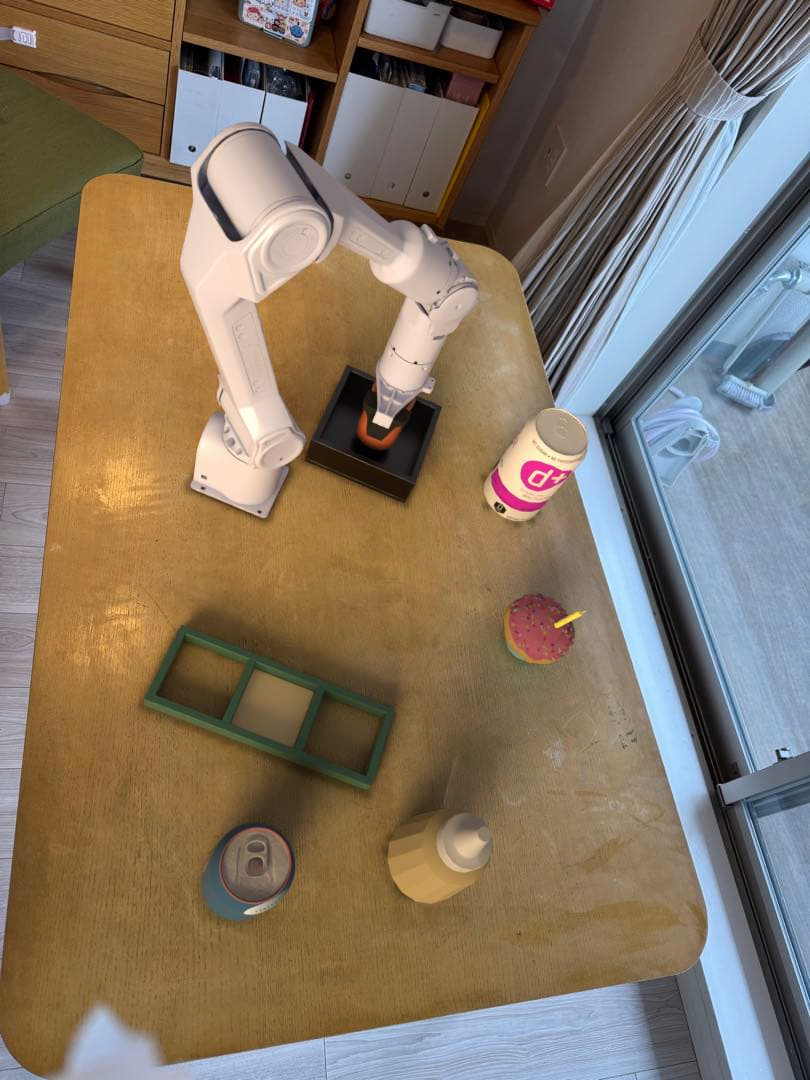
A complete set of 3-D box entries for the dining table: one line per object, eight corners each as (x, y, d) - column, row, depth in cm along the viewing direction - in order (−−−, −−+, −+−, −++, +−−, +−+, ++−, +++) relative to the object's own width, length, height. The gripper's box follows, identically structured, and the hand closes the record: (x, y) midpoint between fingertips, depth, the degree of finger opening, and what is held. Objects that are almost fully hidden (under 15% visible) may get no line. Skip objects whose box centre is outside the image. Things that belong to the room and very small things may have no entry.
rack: (365, 791, 79) (371, 786, 77) (143, 706, 77) (143, 699, 75) (388, 715, 84) (395, 708, 82) (180, 633, 81) (181, 624, 79)
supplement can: (535, 531, 102) (591, 469, 90) (477, 511, 101) (526, 445, 88) (541, 483, 106) (595, 418, 94) (485, 463, 105) (533, 394, 93)
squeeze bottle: (374, 821, 78) (432, 783, 63) (449, 818, 80) (522, 781, 65) (379, 909, 74) (442, 892, 59) (458, 904, 77) (537, 885, 62)
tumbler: (350, 439, 97) (366, 399, 91) (363, 409, 100) (380, 369, 94) (390, 456, 98) (408, 418, 91) (401, 426, 101) (420, 387, 94)
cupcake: (561, 628, 96) (610, 587, 86) (546, 688, 91) (597, 652, 81) (499, 599, 95) (542, 554, 85) (481, 658, 91) (524, 618, 81)
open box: (304, 460, 96) (311, 439, 93) (339, 386, 104) (347, 364, 100) (404, 503, 98) (415, 484, 94) (431, 427, 105) (442, 406, 102)
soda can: (275, 919, 71) (299, 909, 61) (198, 924, 69) (209, 915, 59) (276, 839, 74) (298, 817, 64) (202, 842, 72) (213, 820, 62)
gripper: (431, 405, 82) (394, 475, 93) (462, 318, 90) (425, 392, 101) (369, 378, 81) (340, 451, 92) (406, 293, 89) (375, 370, 100)
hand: (381, 419), depth 97 cm, fingers closed on tumbler, 5 cm apart
